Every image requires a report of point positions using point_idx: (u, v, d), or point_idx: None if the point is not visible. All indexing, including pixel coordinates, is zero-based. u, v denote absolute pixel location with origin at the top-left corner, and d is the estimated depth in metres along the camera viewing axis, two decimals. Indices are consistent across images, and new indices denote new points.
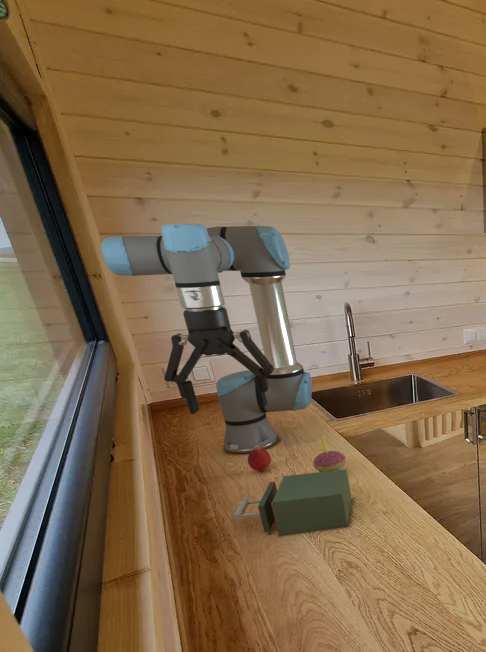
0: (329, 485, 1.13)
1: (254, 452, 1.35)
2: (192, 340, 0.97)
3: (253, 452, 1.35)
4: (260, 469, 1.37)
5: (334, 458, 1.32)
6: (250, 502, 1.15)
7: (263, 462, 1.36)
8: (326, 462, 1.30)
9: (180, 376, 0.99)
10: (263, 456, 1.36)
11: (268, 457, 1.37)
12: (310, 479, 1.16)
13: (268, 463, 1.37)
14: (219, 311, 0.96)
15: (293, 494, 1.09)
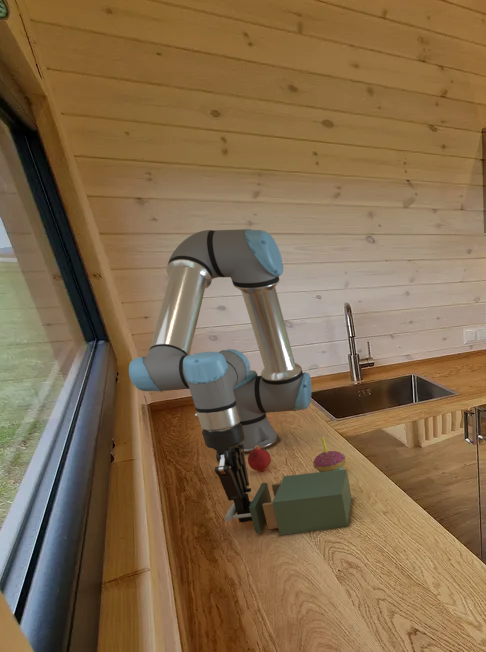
0: (329, 485, 1.13)
1: (254, 452, 1.35)
2: None
3: (253, 452, 1.35)
4: (260, 469, 1.37)
5: (334, 458, 1.32)
6: None
7: (263, 462, 1.36)
8: (326, 462, 1.30)
9: None
10: (263, 456, 1.36)
11: (268, 457, 1.37)
12: (310, 479, 1.16)
13: (268, 463, 1.37)
14: (208, 434, 1.01)
15: (293, 494, 1.09)
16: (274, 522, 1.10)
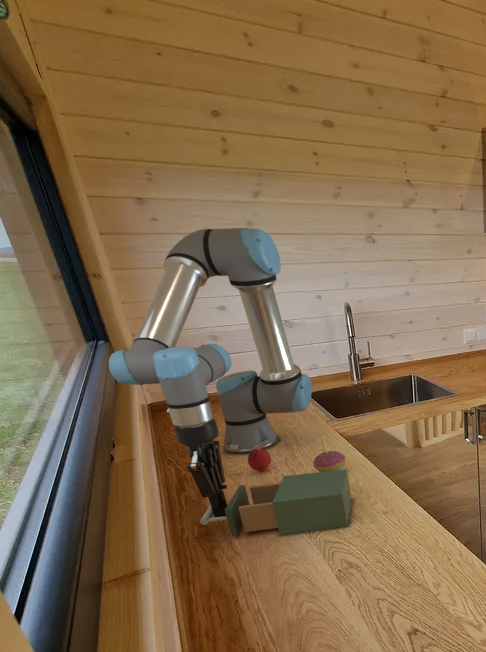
0: (329, 485, 1.13)
1: (254, 452, 1.35)
2: None
3: (253, 452, 1.35)
4: (260, 469, 1.37)
5: (334, 458, 1.32)
6: None
7: (263, 462, 1.36)
8: (326, 462, 1.30)
9: None
10: (263, 456, 1.36)
11: (268, 457, 1.37)
12: (310, 479, 1.16)
13: (268, 463, 1.37)
14: (179, 430, 1.00)
15: (293, 494, 1.09)
16: (250, 525, 1.09)
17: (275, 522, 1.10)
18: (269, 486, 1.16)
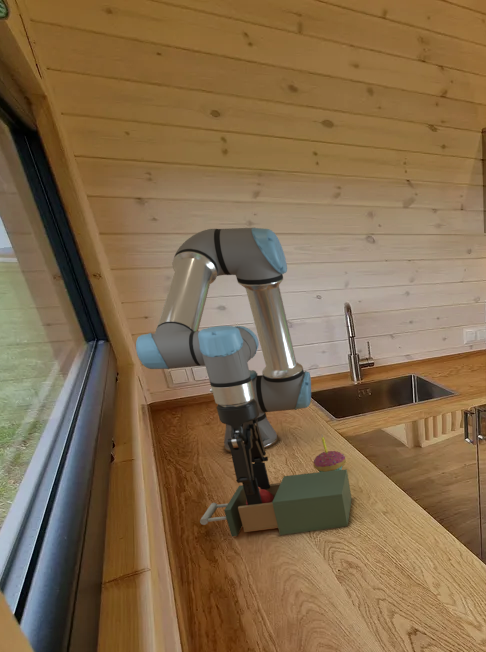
0: (329, 485, 1.13)
1: None
2: None
3: None
4: None
5: (334, 458, 1.32)
6: (219, 506, 1.13)
7: None
8: (326, 462, 1.30)
9: None
10: (265, 500, 1.10)
11: (271, 500, 1.11)
12: (310, 479, 1.16)
13: None
14: (222, 409, 1.00)
15: (293, 494, 1.09)
16: (250, 525, 1.09)
17: (275, 522, 1.10)
18: None
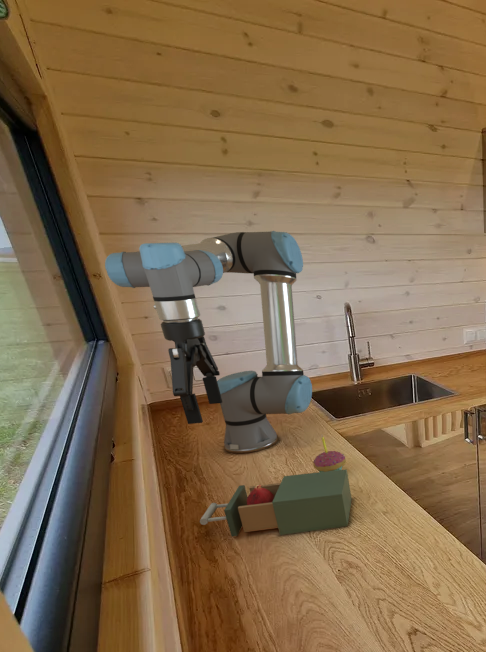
0: (329, 485, 1.13)
1: (254, 493, 1.10)
2: None
3: (253, 493, 1.10)
4: None
5: (334, 458, 1.32)
6: (218, 506, 1.13)
7: None
8: (326, 462, 1.30)
9: None
10: (266, 497, 1.10)
11: (272, 498, 1.12)
12: (310, 479, 1.16)
13: None
14: (166, 325, 1.02)
15: (293, 494, 1.09)
16: (250, 525, 1.09)
17: (275, 522, 1.10)
18: (269, 486, 1.16)
